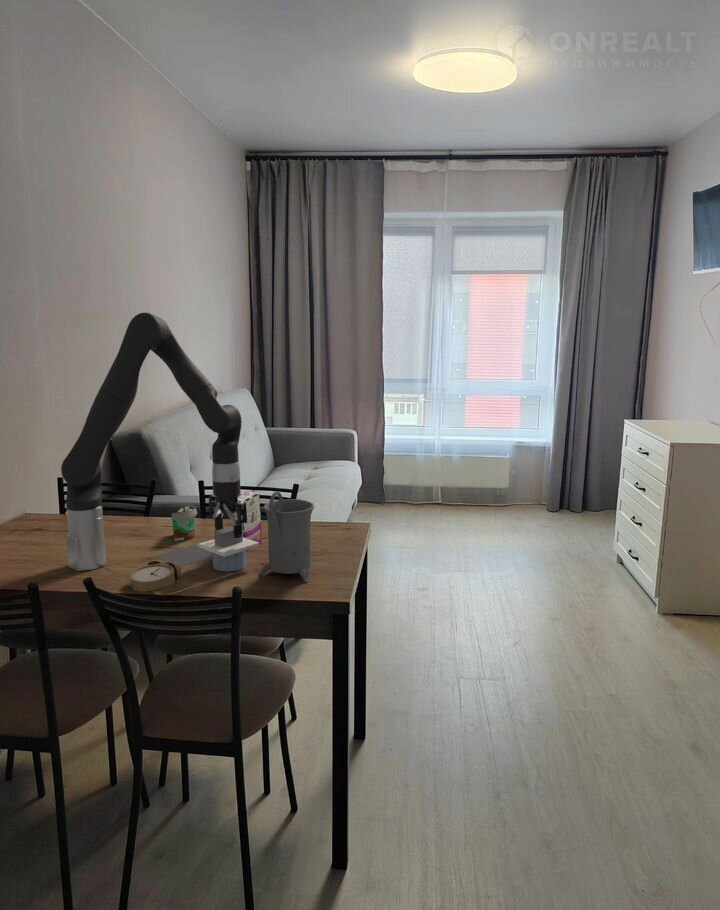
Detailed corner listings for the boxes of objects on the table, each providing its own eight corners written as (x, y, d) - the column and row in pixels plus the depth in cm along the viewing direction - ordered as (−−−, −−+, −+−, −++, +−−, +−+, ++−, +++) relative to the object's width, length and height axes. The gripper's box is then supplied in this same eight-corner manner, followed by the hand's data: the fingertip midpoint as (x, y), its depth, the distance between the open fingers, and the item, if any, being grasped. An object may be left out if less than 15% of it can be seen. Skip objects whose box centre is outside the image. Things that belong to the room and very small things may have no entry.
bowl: (226, 575, 185) (225, 554, 184) (207, 567, 191) (206, 547, 190) (252, 566, 192) (251, 546, 191) (232, 559, 198) (232, 539, 197)
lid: (224, 556, 182) (223, 538, 181) (198, 547, 190) (197, 529, 189) (259, 546, 191) (258, 529, 190) (233, 537, 199) (232, 520, 198)
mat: (181, 568, 190) (181, 567, 190) (154, 557, 199) (154, 555, 199) (222, 556, 200) (221, 554, 200) (194, 546, 210) (194, 544, 209)
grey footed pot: (280, 560, 197) (278, 476, 192) (327, 567, 191) (326, 481, 187) (247, 583, 179) (244, 491, 175) (297, 591, 174) (295, 497, 169)
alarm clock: (119, 579, 175) (153, 552, 188) (123, 596, 176) (156, 567, 190) (157, 584, 171) (188, 556, 184) (160, 601, 173) (191, 572, 186)
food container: (192, 544, 211) (191, 513, 209) (172, 544, 211) (171, 513, 209) (202, 532, 223) (201, 503, 221) (183, 532, 223) (182, 503, 221)
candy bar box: (248, 541, 214) (246, 490, 211) (262, 542, 213) (260, 492, 210) (230, 552, 204) (228, 499, 201) (245, 554, 202) (243, 501, 199)
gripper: (199, 476, 188) (202, 532, 192) (231, 484, 179) (233, 542, 182) (221, 472, 194) (223, 526, 197) (253, 479, 185) (255, 536, 188)
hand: (228, 534), depth 190 cm, fingers open, 8 cm apart
